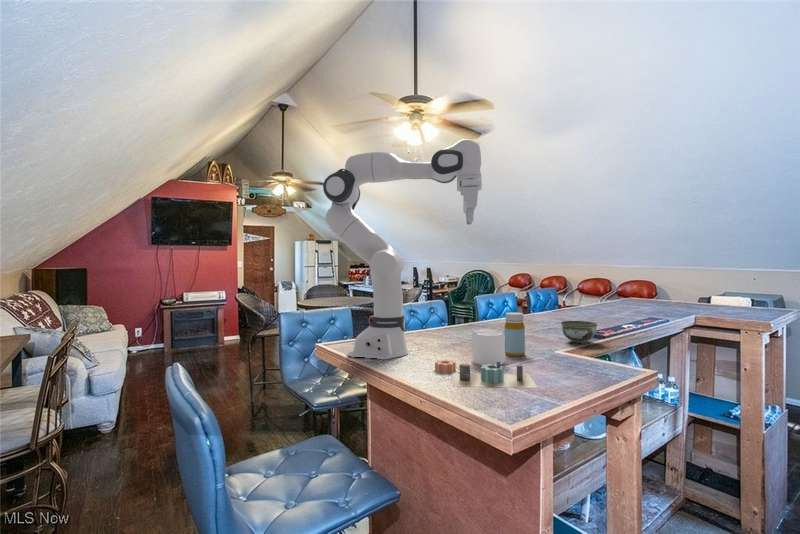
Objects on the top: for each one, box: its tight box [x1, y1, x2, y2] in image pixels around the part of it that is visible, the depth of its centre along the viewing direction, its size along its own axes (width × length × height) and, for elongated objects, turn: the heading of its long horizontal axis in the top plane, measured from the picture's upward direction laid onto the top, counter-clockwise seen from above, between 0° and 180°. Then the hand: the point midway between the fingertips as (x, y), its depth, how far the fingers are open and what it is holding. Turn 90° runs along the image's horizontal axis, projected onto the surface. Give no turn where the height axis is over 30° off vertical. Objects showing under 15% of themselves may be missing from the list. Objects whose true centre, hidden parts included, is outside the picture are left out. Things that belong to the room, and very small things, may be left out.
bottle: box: [504, 311, 526, 358], centre depth 140 cm, size 7×7×15 cm
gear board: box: [451, 363, 539, 389], centre depth 108 cm, size 22×12×5 cm, turn 83°
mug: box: [471, 329, 505, 366], centre depth 129 cm, size 14×10×11 cm
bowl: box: [560, 320, 598, 344], centre depth 158 cm, size 14×13×8 cm
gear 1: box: [434, 359, 457, 374], centre depth 119 cm, size 6×6×4 cm
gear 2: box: [480, 361, 505, 383], centre depth 108 cm, size 6×6×5 cm
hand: (469, 223), depth 141 cm, fingers open, 8 cm apart
